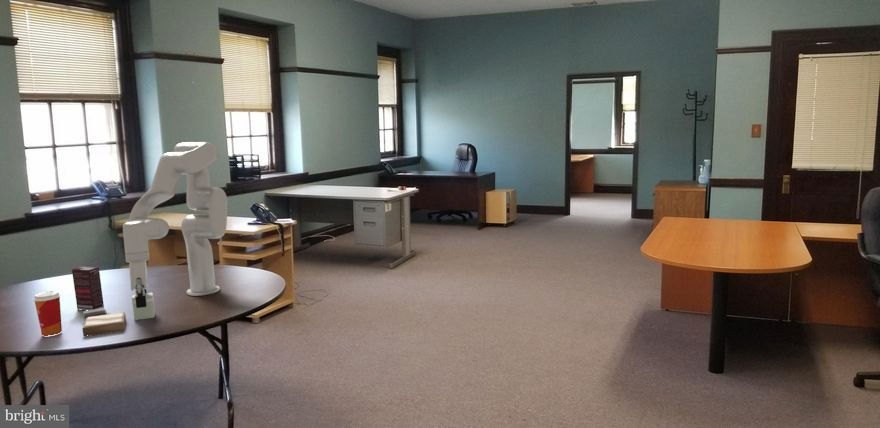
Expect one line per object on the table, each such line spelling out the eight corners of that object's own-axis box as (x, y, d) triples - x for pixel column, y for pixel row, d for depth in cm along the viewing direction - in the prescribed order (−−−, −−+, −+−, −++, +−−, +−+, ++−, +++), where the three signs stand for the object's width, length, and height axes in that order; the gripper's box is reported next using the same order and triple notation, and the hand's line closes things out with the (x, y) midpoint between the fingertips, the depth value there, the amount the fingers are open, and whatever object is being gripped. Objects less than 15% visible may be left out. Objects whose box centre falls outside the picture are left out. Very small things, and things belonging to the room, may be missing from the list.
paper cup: (46, 331, 214) (40, 291, 212) (69, 329, 215) (64, 289, 212) (33, 339, 206) (27, 297, 204) (58, 337, 207) (52, 296, 205)
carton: (134, 316, 227) (132, 295, 226) (155, 313, 229) (152, 292, 228) (134, 320, 223) (131, 298, 221) (154, 317, 225) (152, 295, 224)
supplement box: (104, 308, 239) (99, 266, 236) (94, 311, 234) (88, 270, 231) (87, 306, 241) (82, 265, 239) (76, 310, 237) (70, 269, 234)
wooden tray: (87, 325, 218) (86, 316, 218) (126, 320, 223) (125, 311, 222) (83, 336, 207) (82, 327, 207) (124, 330, 212) (123, 321, 211)
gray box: (84, 321, 223) (82, 311, 223) (106, 317, 227) (105, 307, 226) (85, 324, 220) (83, 313, 219) (107, 320, 224) (106, 309, 223)
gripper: (126, 253, 229) (131, 299, 231) (124, 262, 213) (128, 311, 215) (149, 251, 232) (153, 296, 234) (148, 259, 216) (153, 308, 218)
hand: (141, 303), depth 225 cm, fingers open, 9 cm apart
